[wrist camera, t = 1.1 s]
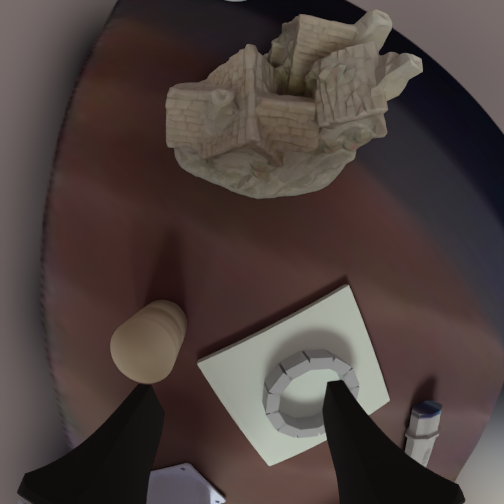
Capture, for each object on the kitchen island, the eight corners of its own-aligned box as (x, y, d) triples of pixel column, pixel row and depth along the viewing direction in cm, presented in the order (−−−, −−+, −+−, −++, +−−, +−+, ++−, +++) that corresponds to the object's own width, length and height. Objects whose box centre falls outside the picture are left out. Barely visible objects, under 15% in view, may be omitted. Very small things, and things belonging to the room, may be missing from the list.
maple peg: (155, 353, 21) (132, 391, 14) (132, 311, 21) (98, 335, 14) (196, 334, 22) (187, 369, 15) (173, 291, 21) (152, 309, 14)
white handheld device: (453, 404, 21) (412, 530, 18) (421, 391, 28) (393, 510, 24) (421, 420, 20) (383, 544, 17) (389, 402, 27) (366, 522, 24)
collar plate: (267, 461, 22) (272, 478, 20) (197, 359, 22) (195, 373, 19) (386, 397, 24) (399, 408, 21) (344, 284, 23) (360, 288, 20)
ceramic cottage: (357, 74, 23) (424, -17, 8) (338, 221, 23) (457, 195, 9) (212, 40, 22) (200, -71, 7) (162, 181, 23) (68, 106, 8)
